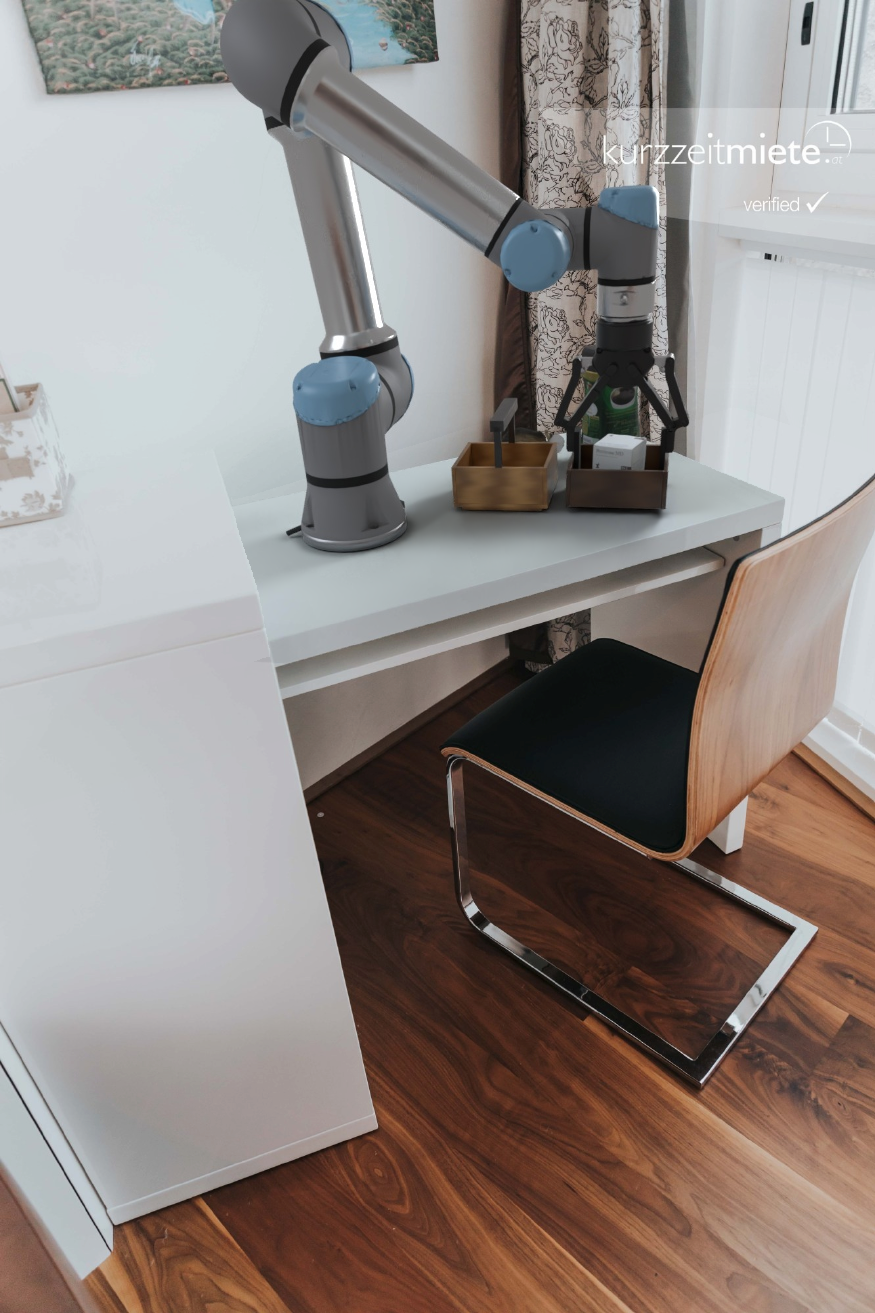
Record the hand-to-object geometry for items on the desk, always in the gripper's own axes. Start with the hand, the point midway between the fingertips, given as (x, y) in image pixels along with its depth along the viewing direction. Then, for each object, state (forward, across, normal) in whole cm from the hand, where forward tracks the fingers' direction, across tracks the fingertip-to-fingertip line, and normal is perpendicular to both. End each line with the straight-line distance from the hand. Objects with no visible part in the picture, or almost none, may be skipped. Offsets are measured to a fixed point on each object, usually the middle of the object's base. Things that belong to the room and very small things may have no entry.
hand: (618, 473), depth 129 cm
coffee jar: (+4, -3, +20) cm, 21 cm away
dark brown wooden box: (+3, 0, 0) cm, 3 cm away
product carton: (+3, 0, 0) cm, 3 cm away
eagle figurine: (+4, -15, +15) cm, 21 cm away
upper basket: (+4, -17, 0) cm, 17 cm away
